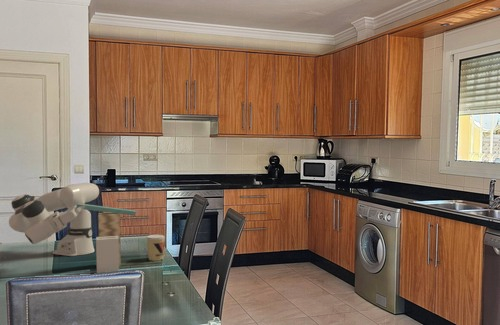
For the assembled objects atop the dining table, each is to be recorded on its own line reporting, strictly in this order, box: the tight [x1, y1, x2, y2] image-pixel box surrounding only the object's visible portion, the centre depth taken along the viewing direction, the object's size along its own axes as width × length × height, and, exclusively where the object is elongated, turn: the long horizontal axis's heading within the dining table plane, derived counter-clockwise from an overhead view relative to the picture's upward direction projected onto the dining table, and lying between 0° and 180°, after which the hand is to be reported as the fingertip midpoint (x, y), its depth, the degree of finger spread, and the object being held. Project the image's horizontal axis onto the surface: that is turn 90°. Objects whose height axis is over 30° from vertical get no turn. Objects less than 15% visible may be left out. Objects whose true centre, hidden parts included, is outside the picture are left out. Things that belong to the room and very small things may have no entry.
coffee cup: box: [146, 234, 166, 261], centre depth 237 cm, size 9×9×12 cm
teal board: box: [77, 203, 137, 216], centre depth 224 cm, size 28×4×2 cm, turn 108°
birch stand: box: [97, 212, 122, 267], centre depth 225 cm, size 10×8×26 cm
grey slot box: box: [95, 236, 120, 274], centre depth 215 cm, size 10×7×16 cm
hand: (85, 205), depth 221 cm, fingers closed on teal board, 4 cm apart
